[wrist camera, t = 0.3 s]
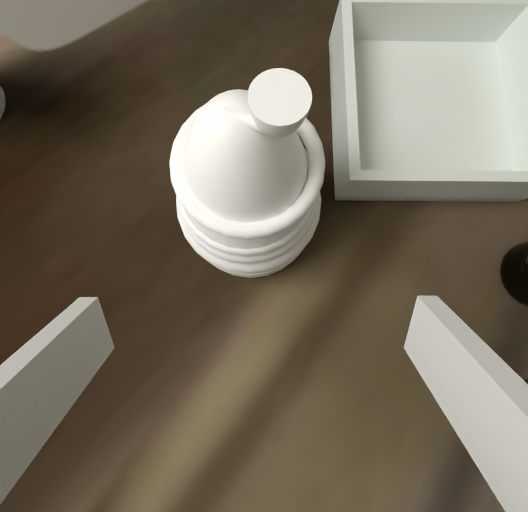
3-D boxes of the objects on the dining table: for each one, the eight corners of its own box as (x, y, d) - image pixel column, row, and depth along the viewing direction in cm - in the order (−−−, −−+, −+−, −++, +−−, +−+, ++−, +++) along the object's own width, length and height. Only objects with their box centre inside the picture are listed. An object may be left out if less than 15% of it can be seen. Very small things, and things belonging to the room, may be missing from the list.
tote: (518, 201, 29) (571, 182, 24) (334, 200, 29) (349, 180, 24) (495, 42, 32) (537, -5, 27) (328, 40, 32) (341, -7, 27)
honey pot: (323, 178, 29) (418, -9, 11) (294, 292, 27) (355, 282, 9) (211, 149, 30) (134, -73, 12) (175, 259, 28) (19, 191, 10)
